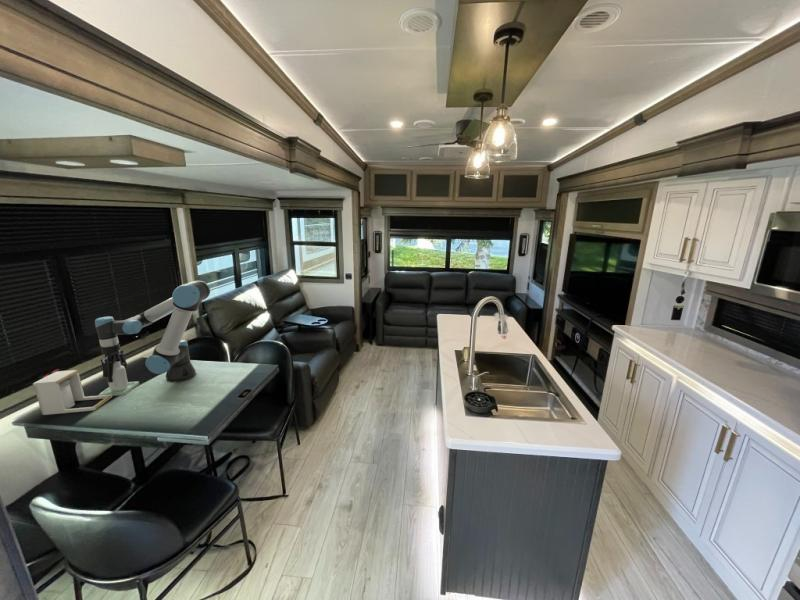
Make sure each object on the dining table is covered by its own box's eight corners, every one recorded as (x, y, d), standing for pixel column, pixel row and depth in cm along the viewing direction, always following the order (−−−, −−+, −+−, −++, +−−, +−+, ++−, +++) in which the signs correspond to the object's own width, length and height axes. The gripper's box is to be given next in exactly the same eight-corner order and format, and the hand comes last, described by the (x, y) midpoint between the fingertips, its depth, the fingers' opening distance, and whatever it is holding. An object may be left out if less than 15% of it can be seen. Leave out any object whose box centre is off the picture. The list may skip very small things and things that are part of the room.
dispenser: (112, 396, 171) (105, 367, 167) (94, 410, 159) (86, 379, 155) (64, 401, 168) (56, 371, 164) (42, 415, 155) (32, 383, 151)
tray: (139, 384, 185) (138, 381, 185) (125, 394, 173) (124, 391, 173) (115, 385, 183) (114, 383, 183) (99, 396, 171) (98, 394, 171)
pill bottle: (117, 391, 173) (111, 366, 170) (106, 390, 175) (100, 365, 171) (132, 384, 181) (127, 360, 177) (121, 383, 182) (115, 359, 179)
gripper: (115, 338, 181) (123, 375, 187) (87, 352, 162) (97, 393, 167) (130, 338, 183) (137, 374, 188) (103, 351, 163) (113, 391, 168)
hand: (118, 383), depth 177 cm, fingers closed on pill bottle, 8 cm apart
